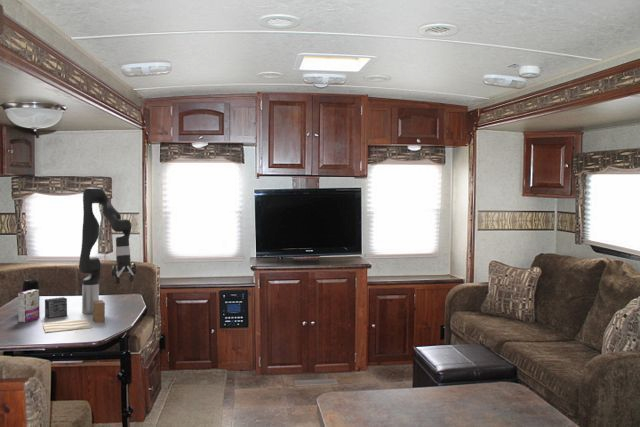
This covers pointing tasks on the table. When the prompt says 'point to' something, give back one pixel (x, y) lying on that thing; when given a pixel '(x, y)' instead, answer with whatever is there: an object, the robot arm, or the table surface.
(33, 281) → the portable speaker
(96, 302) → the walnut block
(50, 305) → the small box
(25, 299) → the candy bar box
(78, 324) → the beige cloth mat
